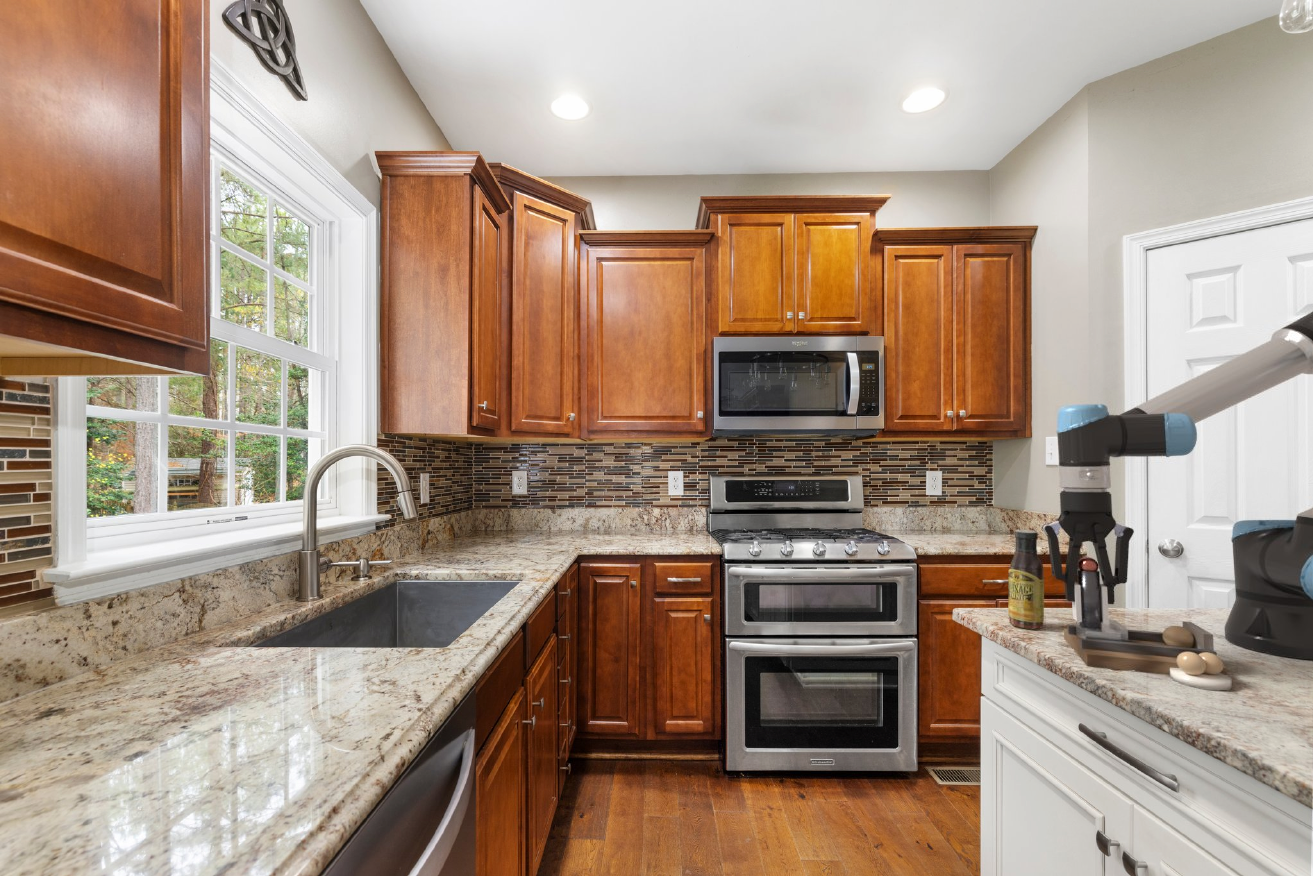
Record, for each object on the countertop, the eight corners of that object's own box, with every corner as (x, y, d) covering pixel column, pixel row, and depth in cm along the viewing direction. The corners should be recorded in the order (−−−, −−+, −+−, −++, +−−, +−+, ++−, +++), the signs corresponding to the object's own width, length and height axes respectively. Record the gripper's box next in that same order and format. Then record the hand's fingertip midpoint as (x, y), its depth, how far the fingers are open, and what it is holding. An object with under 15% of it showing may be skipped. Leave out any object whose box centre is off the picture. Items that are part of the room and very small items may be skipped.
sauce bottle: (1002, 624, 123) (998, 529, 123) (1021, 620, 125) (1017, 528, 126) (1033, 632, 117) (1029, 533, 117) (1052, 628, 119) (1048, 531, 120)
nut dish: (1218, 677, 92) (1216, 647, 92) (1241, 693, 86) (1239, 662, 86) (1162, 671, 95) (1161, 642, 95) (1181, 686, 89) (1179, 656, 89)
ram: (1116, 637, 105) (1112, 555, 106) (1128, 648, 100) (1124, 561, 100) (1075, 634, 108) (1072, 553, 108) (1085, 644, 102) (1081, 559, 102)
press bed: (1182, 649, 105) (1181, 616, 106) (1227, 680, 91) (1225, 641, 91) (1064, 638, 112) (1062, 607, 113) (1087, 666, 98) (1085, 630, 98)
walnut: (1188, 647, 100) (1187, 624, 101) (1199, 654, 97) (1197, 630, 97) (1159, 645, 102) (1158, 622, 102) (1168, 652, 98) (1167, 628, 98)
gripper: (1036, 490, 105) (1041, 622, 104) (1149, 491, 99) (1155, 631, 98) (1028, 488, 112) (1033, 611, 111) (1133, 489, 105) (1139, 619, 105)
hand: (1090, 620), depth 104 cm, fingers closed on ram, 3 cm apart
